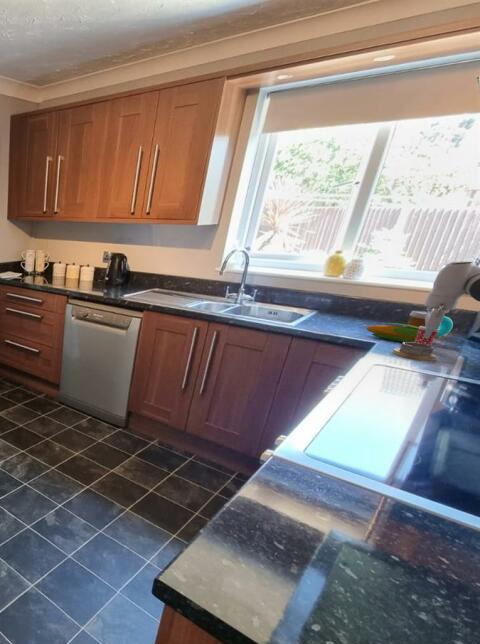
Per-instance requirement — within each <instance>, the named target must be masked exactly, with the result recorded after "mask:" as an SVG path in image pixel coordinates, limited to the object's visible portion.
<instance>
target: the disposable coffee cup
mask: <svg viewBox="0 0 480 644" xmlns="http://www.w3.org/2000/svg"><path fill="white" fill-rule="evenodd" d="M426 314H427V311H424V310H412V311H411V312H410V313H409V319H408V321H407V322H408V323H407V325H412V326H416V327H419V326H425V318H426ZM406 327H409V326H406ZM410 328H414V327H410ZM417 329H418V328H417Z"/></svg>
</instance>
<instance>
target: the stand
mask: <svg viewBox="0 0 480 644" xmlns="http://www.w3.org/2000/svg"><path fill="white" fill-rule="evenodd" d="M434 349H435V347H434V346H433V345H430V346H429V345H425V344H420V343H414V342H401V345H400V347H395V348H393V350H392V354H394V355H396V356H398V357H402V358H406V359H410V360H416V361H422V362H423V361H424V362H434V361H436V358H437V355H436V354H434V353H433V352H434Z"/></svg>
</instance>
